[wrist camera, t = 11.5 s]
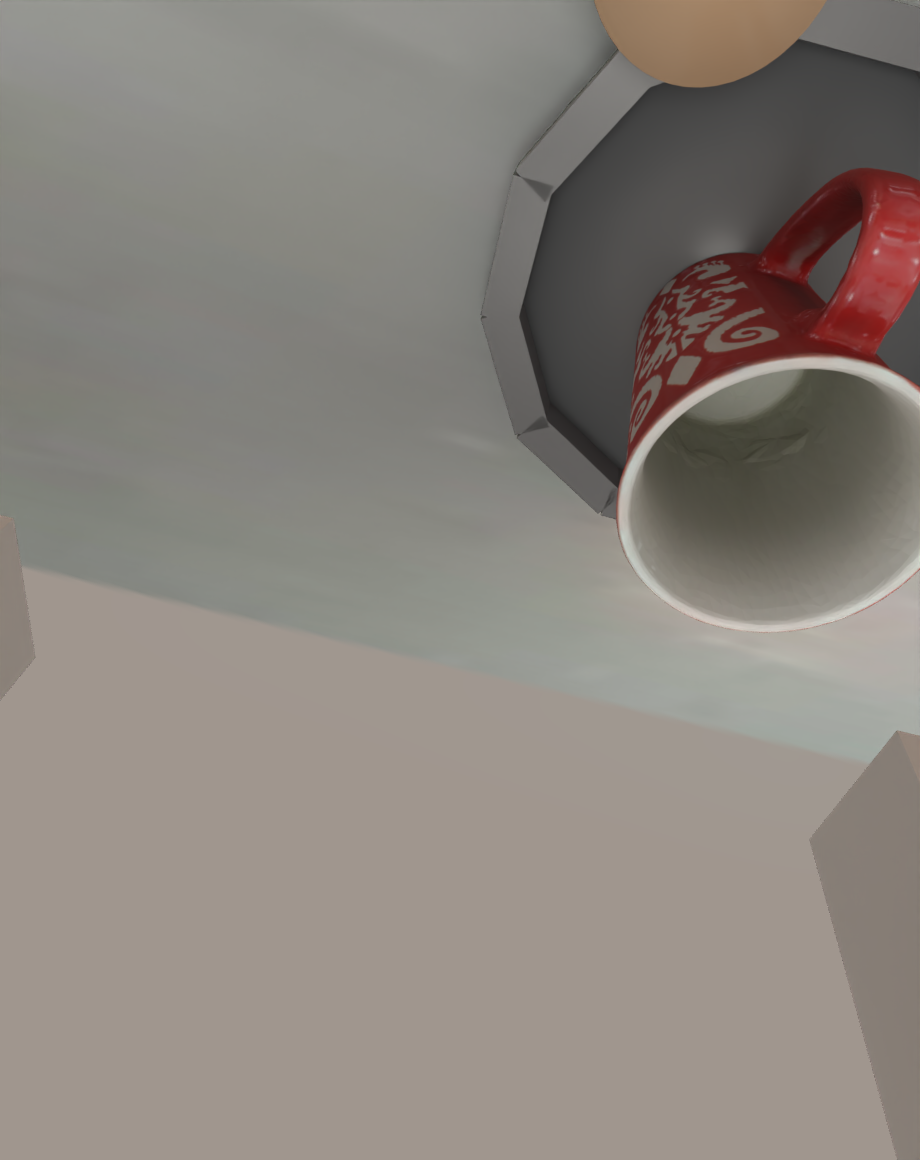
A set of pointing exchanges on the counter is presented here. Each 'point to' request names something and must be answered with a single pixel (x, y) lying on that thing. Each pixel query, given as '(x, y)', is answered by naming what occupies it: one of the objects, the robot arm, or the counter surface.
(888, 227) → the mug
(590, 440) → the tray
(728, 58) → the pot
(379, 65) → the counter surface
